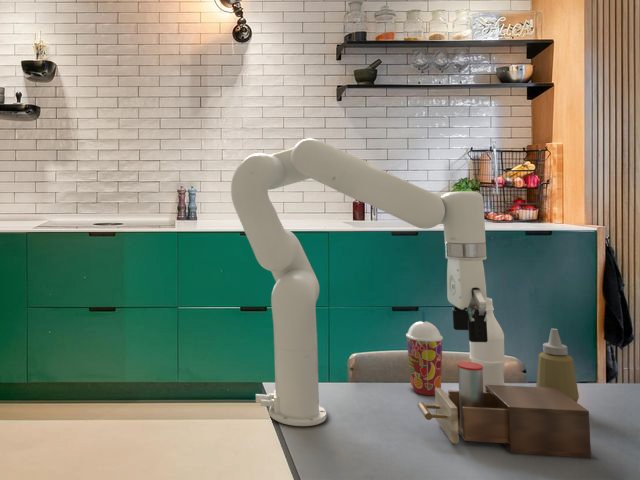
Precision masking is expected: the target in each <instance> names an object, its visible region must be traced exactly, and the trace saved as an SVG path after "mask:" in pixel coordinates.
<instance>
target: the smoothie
mask: <svg viewBox="0 0 640 480" xmlns="http://www.w3.org/2000/svg"><path fill="white" fill-rule="evenodd" d="M425 312H426V311H425V309H422V310H421V320H419V321H415V322H414V323H412V324H411V325H410V327H409V328H408V331H407V333H405V337H406V347H407V355H408V356H407V357H408V367H409V377H410V386H411V387H412V389H413V391H414V392H415V393H417V394H420V395H424V396H435V388H441V389H442V368H443V367H442V365H443V363H442V362H443V361H442V360H443V335H442V334H441V332H440V330H439V329H438V328H437V326H435V325H434V324H433V323H431V322H430V321H426V313H425Z"/></svg>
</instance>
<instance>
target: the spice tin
mask: <svg viewBox="0 0 640 480" xmlns="http://www.w3.org/2000/svg"><path fill="white" fill-rule="evenodd" d="M457 373H458V375H457V377H458V391H459V404H460V425H461V427H462V428H463V410H462V407H480V408H484V393H483V366H482V365H480V364H477V363H473V362H471V361H459V362H457Z"/></svg>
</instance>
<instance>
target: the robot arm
mask: <svg viewBox="0 0 640 480" xmlns="http://www.w3.org/2000/svg"><path fill="white" fill-rule="evenodd" d="M309 179H311V180H313V181H316V182H317V183H319V184H323V185H325V186H326V187H329V188H331V189H333V190H335V191H337V192H339V193H341V194H342V195H345V196H347V197H349V198H351V199H354V200H355V201H358V202H360V203H364V204H367V205H369V206H372V207H374V208H376V209H378V210H380V211H382V212H384V213H386V214H388V215H391V216H393V217H395V218H397V219H399V220H401V221H403V222H405V223H407V224H409V225H411V226H413V227H416V228H419V229H432V228H434V227H437V226H438V225H443V237H444V238H443V239H444V257H445V259H446V260H447V268H446V296H447V297H446V298H447V301H448V302H449V303H450V304H451V305H452V306H451V308H452V324H453V326H452V327H453V329H454V330H455V331H467V332H468V341H471V342H487V341H488V339H487V317H486V314H487V313H486V306H487V298H488V295H487V283H486V273H485V266H484V262H483V261H484V260H487V242H486V223H485V207H484V204H485V203H484V197H483V194H481V193H480V192H479V191H474V190H473V191H472V190H469V191H468V190H465V191H463V190H461V191H449V192H432V191H429V190H426V189H424V188H423V187H419V186H418V185H416V184H413V183H411V182H409V181H406V180H405V179H402V178H400V177H399V176H398V177H397V176H395V175H393V174H391V173H389V172H387V171H385V170H383V169H381V168H380V167H378V166H376V165H375V164H372V163H370V162H368V161H366V160H364V159H362V158H359V157H357V156H355V155H352V154H351V153H348V152H346V151H343V150H342V149H340V148H337V147H335V146H333V145H331V144H327V143H326V142H324V141H321V140H320V139H316V138H312V137H310V138H304V139H301V140H300V141H299V142H297V143H296V144H295V145H294V147H290V148H288V149H285V150H282V151H279V152H275V153H271V154H267V153H262V152H258V153H257V152H256V153H253V154H250V155H249V156H247V157H246V158H244V159H243V160H242V161H241V162H240V163H239V165H237V167H236V169H235V171H234V173H233V175H232V178H231V182H230V197H231V201H232V205H233V207H234V210H235V212H236V215H237V217H238V219H239V222H240V224H241V226H242V228H243V231H244V233H245V236H246V239H247V240H248V242H249V245H250V247H251V250H252V252H253V254H254V257H255V260H256V261H257V262H258V264H259V265H260V267H262V268H263V269H265V270H267V271H269V272H271V274H272V276H273V279H274V281H275V284H274V285H273V288H272V291H271V296H270V305H271V314H272V325H273V347H274V348H273V349H274V350H273V351H274V353H273V354H274V387H275V389H274V390H273V392H272V393H271V392H270V393H269V394H263V393H255V403H256V404H260V407H269V408H268V413H269V414H268V415H269V417H270V418H271V419H273V420H274V421H275V422H278V423H280V424H283V425H288V426H292V427H293V426H294V427H311V426H317V425H320V424H322V423H324V422H325V421H327V410H326V409H325V408H324V407H323V406H321V405H320V396H319V395H320V392H319V356H318V353H319V352H318V329H317V316H316V315H317V313H316V308H317V307H316V306H317V305H316V304H317V301H318V299H319V296H320V283H319V280H318V278H317V276H316V273H315V271H314V269H313V267H312V266H311V263H310V261H309V259H308V257H307V255H306V252H305V250H304V248H303V246H302V244H301V242H300V241H299V239H298V237H297V236H296V235H295V233H294V232H292V231H291V230H290V229H287V228H284V226H283V223H282V222H281V219H280V217H279V216H278V215H279V214H278V213H277V210H276V208H275V206H274V204H273V203H272V201H271V199H270V197H269V196H270V195H269V191H271V190H275V189H279V188H282V187H286V186H289V185H293V184H296V183H300V182H302V181H306V180H309Z"/></svg>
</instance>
